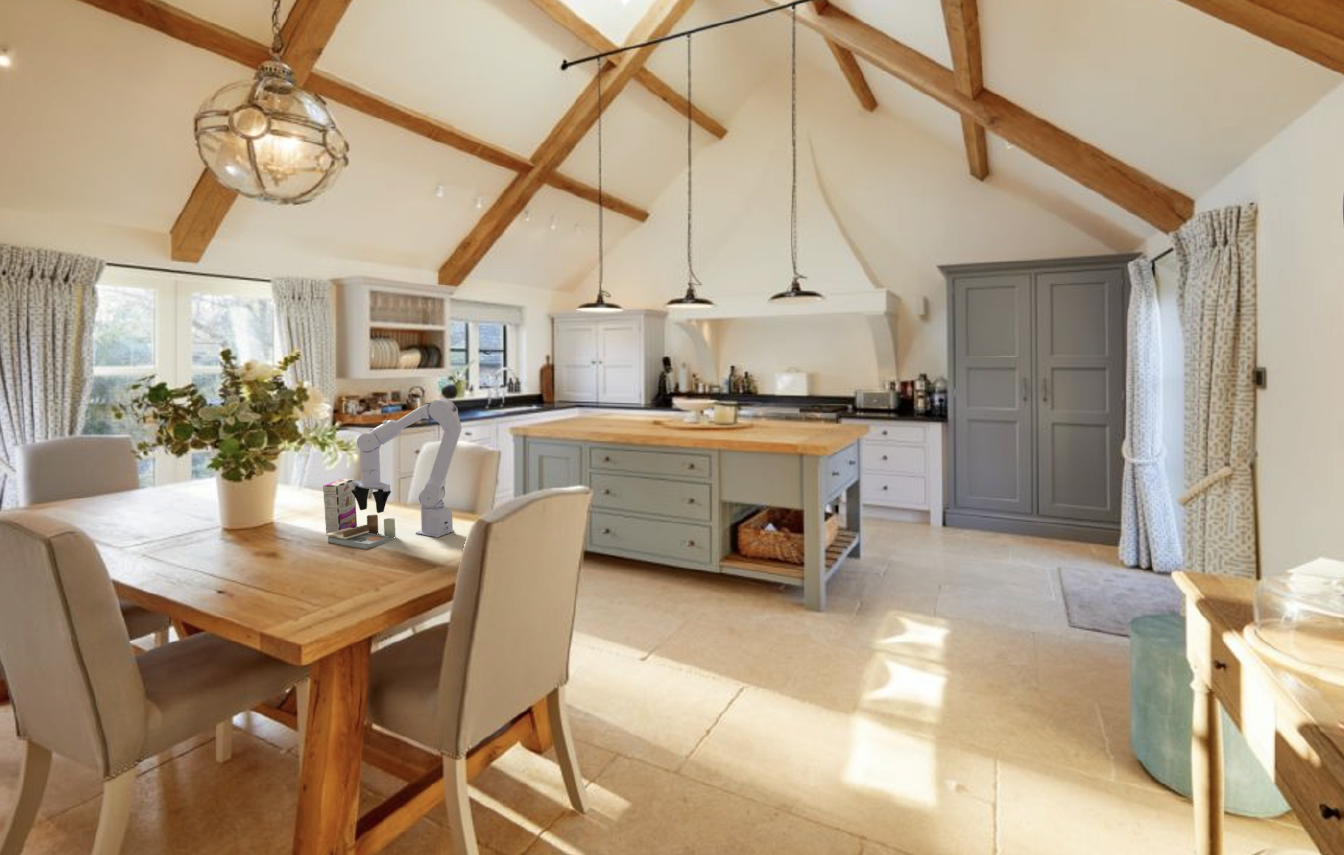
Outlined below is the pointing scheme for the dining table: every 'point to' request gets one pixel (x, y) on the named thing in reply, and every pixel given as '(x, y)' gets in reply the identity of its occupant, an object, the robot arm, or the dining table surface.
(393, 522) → the sage peg
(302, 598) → the dining table surface
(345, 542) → the board
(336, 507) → the candy bar box
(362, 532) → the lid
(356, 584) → the dining table surface
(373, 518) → the walnut peg
